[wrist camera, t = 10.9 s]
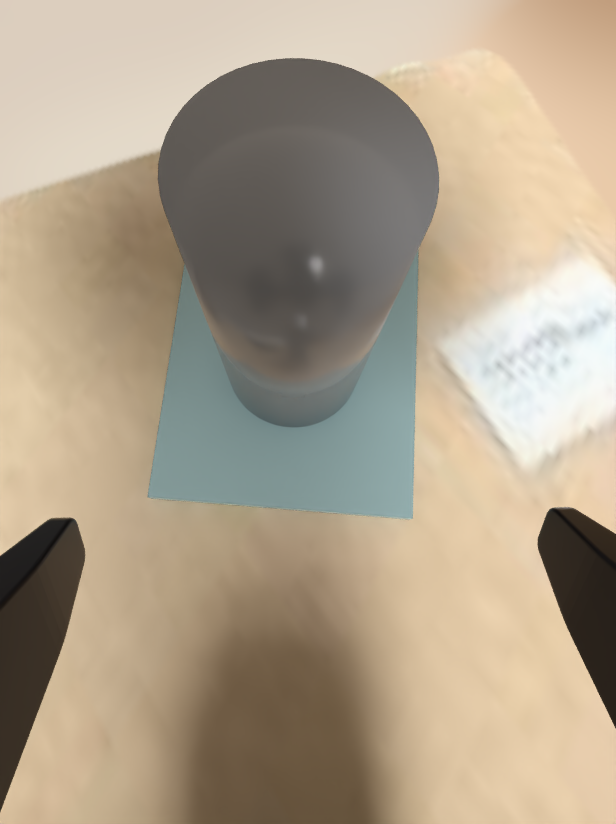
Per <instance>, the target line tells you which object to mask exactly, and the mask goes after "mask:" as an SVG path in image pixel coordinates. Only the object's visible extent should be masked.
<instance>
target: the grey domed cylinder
mask: <svg viewBox="0 0 616 824" xmlns="http://www.w3.org/2000/svg"><path fill="white" fill-rule="evenodd" d="M158 183H159V191H160V197H161V201H162V204H163V207H164V211H165V214H166V216H167V219H168V221H169V224H170V227H171V229H172V232H173V235H174V237H175V240H176V242H177V245H178V248H179V250H180V253H181V255H182V258H183V261H184V263H185V266H186V269H187V271H188V274H189V276H190V279H191V282H192V284H193V287H194V289H195V292H196V295H197V297H198V300H199V303H200V305H201V308H202V310H203V313H204V316H205V318H206V321H207V323H208V326H209V329H210V331H211V334H212V336H213V339H214V342H215V344H216V347H217V350H218V352H219V355H220V357H221V360H222V363H223V365H224V368H225V370H226V373H227V376H228V378H229V381H230V384H231V386H232V388H233V390H234V393H235V394H236V396H237V398H238V399H239V401H240V402H241V403H242V404H243V405H244V407H245V408H246V409H248V410H249V411H250V412H251V413H252V414H254V415H255V416H257V417H258V418H260V419H262V420H264V421H266V422H268V423H271V424H274V425H278V426H282V427H305V426H310V425H314V424H317V423H319V422H322V421H324V420H326V419H328V418H329V417H331V416H332V415H334V414H335V413H336V412H338V411H339V410H340V409H341V408H342V407H343V406H344V405H345V404H346V402H347V401H348V399H349V398H350V396H351V395H352V393H353V391H354V389H355V386H356V384H357V382H358V380H359V378H360V376H361V373H362V371H363V369H364V367H365V365H366V362H367V360H368V358H369V356H370V354H371V352H372V349H373V347H374V345H375V343H376V341H377V338H378V336H379V334H380V332H381V330H382V328H383V325H384V323H385V321H386V319H387V317H388V314H389V312H390V310H391V308H392V306H393V304H394V301H395V299H396V297H397V295H398V293H399V290H400V288H401V286H402V284H403V282H404V280H405V277H406V275H407V273H408V271H409V269H410V266H411V264H412V262H413V260H414V258H415V256H416V253H417V251H418V249H419V247H420V245H421V242H422V240H423V238H424V236H425V234H426V232H427V229H428V227H429V225H430V223H431V220H432V217H433V214H434V211H435V208H436V204H437V198H438V193H439V172H438V164H437V159H436V155H435V152H434V148H433V145H432V143H431V141H430V138H429V136H428V134H427V132H426V130H425V128H424V127H423V125H422V123H421V122H420V120H419V119H418V117H417V116H416V115H415V114H414V112H413V111H412V110H411V109H410V107H409V106H408V105H407V104H406V103H405V102H404V101H403V100H402V99H401V98H400V97H398V96H397V95H396V94H395V93H394V92H392V91H391V90H390V89H388V88H387V87H386V86H384V85H383V84H381V83H380V82H378V81H376V80H375V79H373V78H371V77H369V76H368V75H365V74H363V73H361V72H359V71H356V70H354V69H351V68H348V67H345V66H342V65H339V64H335V63H331V62H326V61H321V60H313V59H302V58H301V59H300V58H297V59H294V58H293V59H292V58H290V59H276V60H268V61H263V62H258V63H254V64H250V65H247V66H244V67H241V68H238V69H235V70H234V71H231V72H229V73H227V74H225V75H223V76H221V77H219V78H217V79H216V80H214V81H212V82H211V83H209V84H208V85H206V86H205V87H204V88H203V89H201V90H200V91H199V92H198V93H197V94H195V95H194V96H193V97H192V98H191V99H190V100H189V101H188V102H187V103H186V104H185V105H184V107H183V108H182V109H181V110H180V112H179V113H178V115H177V116H176V117H175V119H174V120H173V122H172V124H171V126H170V128H169V130H168V132H167V134H166V136H165V139H164V142H163V145H162V148H161V153H160V158H159V164H158Z"/></svg>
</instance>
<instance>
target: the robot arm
mask: <svg viewBox="0 0 616 824" xmlns="http://www.w3.org/2000/svg"><path fill="white" fill-rule="evenodd" d="M538 550H539V553H540V556H541V558H542V561H543V564H544V567H545V569H546V572H547V575H548V578H549V580H550V583H551V586H552V589H553V592H554V594H555V597H556V600H557V603H558V605H559V608H560V611H561V613H562V616H563V619H564V621H565V624H566V626H567V628H568V630H569V632H570V635H571V637H572V639H573V641H574V643H575V645H576V647H577V649H578V651H579V653H580V655H581V657H582V660H583V662H584V664H585V666H586V668H587V670H588V672H589V674H590V676H591V678H592V680H593V682H594V684H595V687H596V689H597V691H598V693H599V695H600V697H601V699H602V701H603V703H604V705H605V707H606V709H607V711H608V714H609V716H610V718H611V720H612V722H613V724H614V726H615V728H616V534H615V533H613V532H612V531H610V530H608V529H607V528H605V527H604V526H602V525H600V524H599V523H597V522H595V521H594V520H592V519H591V518H589V517H587V516H586V515H584V514H582V513H581V512H579V511H578V510H576V509H574V508H570V507H557V508H551V509H550V510H549V511H548V512H547V514H546V517H545V520H544V523H543V525H542V528H541V531H540V534H539V536H538ZM84 562H85V548H84V545H83V541H82V538H81V535H80V531H79V528H78V524H77V522H76V521H75V519H73V518H51V519H49V520H47V521H46V522H44V523H43V524H42V525H40V526H39V527H38V528H37V529H35V530H34V531H33V532H31V533H30V534H29V535H27V536H26V537H25V538H23V539H22V540H21V541H19V542H18V543H17V544H15V545H14V546H13V547H11V548H10V549H9V550H7V551H6V552H5V553H3V554H2V555H1V556H0V811H1V809H2V806H3V803H4V801H5V798H6V795H7V793H8V790H9V787H10V785H11V782H12V779H13V777H14V774H15V771H16V769H17V766H18V763H19V761H20V758H21V755H22V753H23V750H24V747H25V745H26V742H27V739H28V737H29V734H30V731H31V729H32V726H33V723H34V721H35V718H36V715H37V713H38V710H39V707H40V705H41V702H42V700H43V697H44V694H45V692H46V689H47V686H48V684H49V681H50V678H51V676H52V673H53V670H54V668H55V665H56V662H57V660H58V657H59V654H60V651H61V648H62V646H63V643H64V639H65V636H66V632H67V629H68V625H69V621H70V617H71V613H72V609H73V605H74V601H75V597H76V593H77V590H78V586H79V582H80V578H81V574H82V570H83V566H84Z"/></svg>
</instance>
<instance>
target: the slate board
mask: <svg viewBox="0 0 616 824" xmlns="http://www.w3.org/2000/svg"><path fill="white" fill-rule="evenodd" d="M417 293H418V251H417V253H416V256H415V258H414V260H413V262H412V264H411V266H410V269H409V271H408V273H407V275H406V277H405V280H404V282H403V284H402V286H401V288H400V290H399V293H398V295H397V297H396V299H395V301H394V304H393V306H392V308H391V310H390V312H389V314H388V317H387V319H386V321H385V323H384V325H383V328H382V330H381V332H380V334H379V336H378V338H377V341H376V343H375V345H374V347H373V349H372V352H371V354H370V356H369V358H368V360H367V362H366V365H365V367H364V369H363V371H362V373H361V376H360V378H359V380H358V382H357V384H356V386H355V389H354V391H353V393H352V395H351V396H350V398H349V399H348V401H347V402H346V404H345V405H344V406H343V407H342V408H341V409H340V410H339V411H338V412H336V413H335V414H334V415H332V416H331V417H329V418H328V419H326V420H324V421H322V422H319V423H317V424H314V425H310V426H305V427H282V426H278V425H274V424H271V423H268V422H266V421H264V420H262V419H260V418H258V417H257V416H255V415H254V414H252V413H251V412H250V411H249V410H248V409H246V408H245V407H244V405H243V404H242V403H241V402H240V401H239V399H238V398H237V396H236V394H235V393H234V390H233V388H232V386H231V384H230V381H229V378H228V376H227V373H226V370H225V368H224V365H223V363H222V360H221V357H220V355H219V352H218V350H217V347H216V344H215V342H214V339H213V336H212V334H211V331H210V329H209V326H208V323H207V321H206V318H205V316H204V313H203V310H202V308H201V305H200V303H199V300H198V297H197V295H196V292H195V289H194V287H193V284H192V282H191V279H190V276H189V274H188V271H187V269H186V266H185V264H184V271H183V277H182V283H181V290H180V296H179V302H178V308H177V315H176V321H175V327H174V334H173V340H172V346H171V352H170V359H169V365H168V371H167V378H166V384H165V390H164V396H163V403H162V409H161V415H160V422H159V428H158V434H157V440H156V447H155V453H154V459H153V466H152V472H151V478H150V484H149V491H148V497H149V498H152V499H164V500H177V501H189V502H201V503H213V504H226V505H238V506H250V507H263V508H275V509H287V510H300V511H312V512H324V513H336V514H349V515H361V516H373V517H386V518H398V519H413V478H414V432H415V385H416V339H417Z"/></svg>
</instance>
